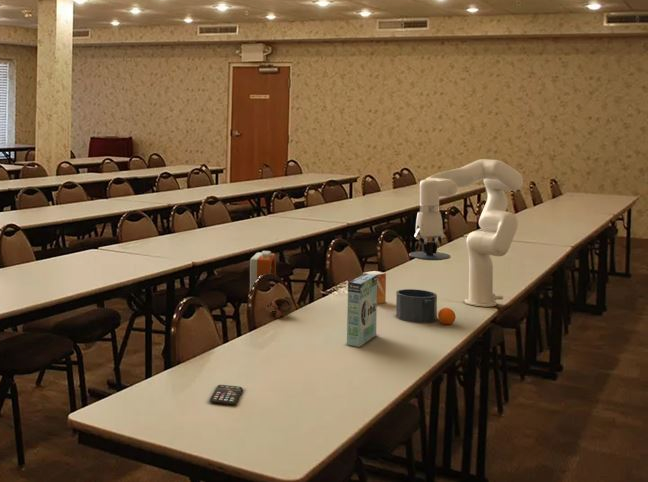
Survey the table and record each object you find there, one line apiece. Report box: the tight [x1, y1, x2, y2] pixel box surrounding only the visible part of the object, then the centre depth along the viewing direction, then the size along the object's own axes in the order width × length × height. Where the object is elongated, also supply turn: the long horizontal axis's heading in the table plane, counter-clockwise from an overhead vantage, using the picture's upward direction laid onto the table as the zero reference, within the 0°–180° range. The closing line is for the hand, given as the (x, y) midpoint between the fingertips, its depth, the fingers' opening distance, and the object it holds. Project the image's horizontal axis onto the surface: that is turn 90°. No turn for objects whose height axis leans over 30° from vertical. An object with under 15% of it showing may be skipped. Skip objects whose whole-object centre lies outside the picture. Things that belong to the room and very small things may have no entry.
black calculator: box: [209, 384, 243, 406], centre depth 242 cm, size 7×1×15 cm
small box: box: [362, 270, 387, 305], centre depth 362 cm, size 8×6×13 cm
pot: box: [395, 288, 438, 324], centre depth 334 cm, size 15×21×10 cm
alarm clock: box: [249, 250, 277, 292], centre depth 373 cm, size 18×9×21 cm, turn 160°
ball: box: [437, 307, 456, 326], centre depth 324 cm, size 6×6×6 cm
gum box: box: [346, 272, 378, 348], centre depth 301 cm, size 20×5×23 cm, turn 144°
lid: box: [408, 240, 452, 261], centre depth 344 cm, size 16×16×7 cm
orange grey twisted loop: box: [270, 297, 293, 319], centre depth 337 cm, size 12×10×8 cm
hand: (429, 252), depth 344 cm, fingers closed on lid, 3 cm apart
